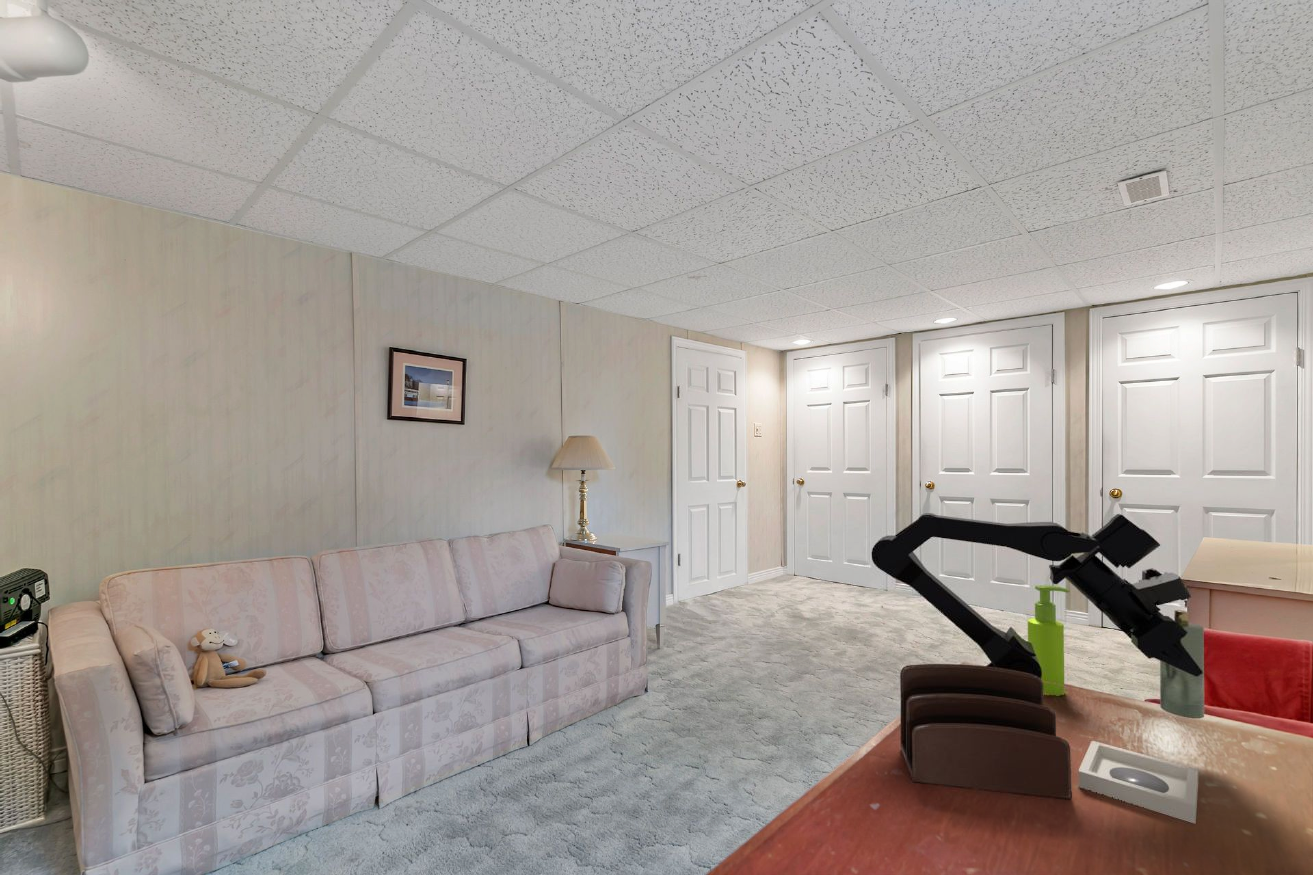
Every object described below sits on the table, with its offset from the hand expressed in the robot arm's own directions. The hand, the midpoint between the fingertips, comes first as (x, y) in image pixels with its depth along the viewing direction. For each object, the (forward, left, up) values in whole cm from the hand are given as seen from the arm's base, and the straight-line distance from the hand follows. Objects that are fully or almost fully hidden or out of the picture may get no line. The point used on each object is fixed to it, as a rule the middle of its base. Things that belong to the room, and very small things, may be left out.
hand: (1193, 668), depth 91 cm
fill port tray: (-5, -15, -13) cm, 21 cm away
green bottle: (-1, 0, -7) cm, 7 cm away
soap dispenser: (-21, +16, -14) cm, 30 cm away
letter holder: (-22, -26, -14) cm, 37 cm away
